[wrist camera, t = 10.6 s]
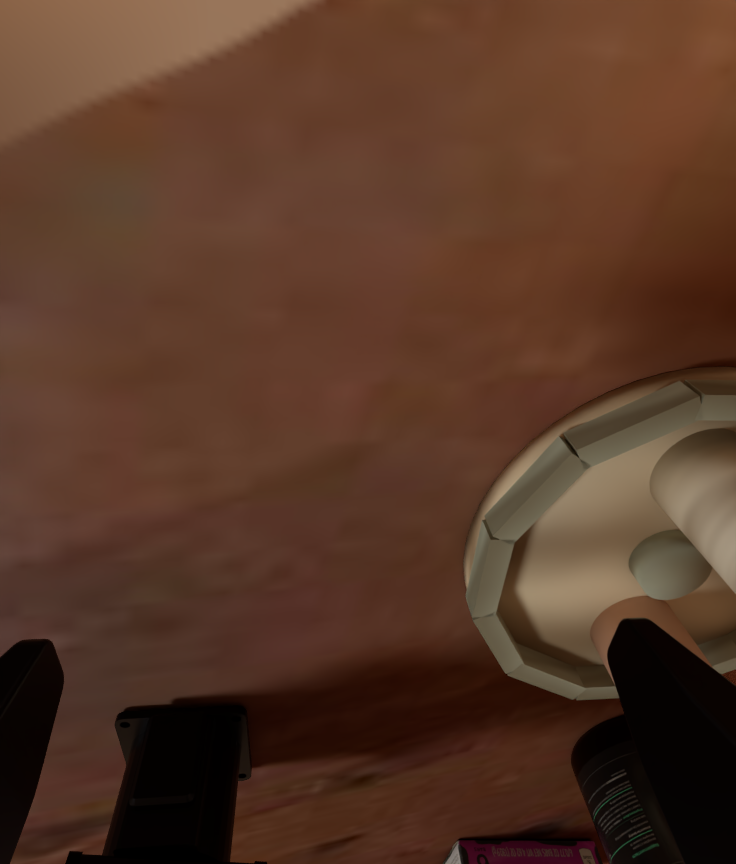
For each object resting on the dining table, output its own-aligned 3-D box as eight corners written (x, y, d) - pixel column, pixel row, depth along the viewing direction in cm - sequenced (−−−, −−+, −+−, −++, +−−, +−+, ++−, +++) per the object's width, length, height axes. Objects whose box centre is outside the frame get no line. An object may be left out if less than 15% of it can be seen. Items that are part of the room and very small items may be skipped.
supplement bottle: (697, 728, 34) (862, 994, 24) (617, 781, 37) (734, 1042, 27) (626, 699, 32) (775, 981, 22) (545, 758, 35) (644, 1035, 24)
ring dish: (745, 654, 31) (773, 691, 29) (440, 668, 29) (449, 708, 27) (927, 370, 22) (985, 396, 20) (502, 362, 20) (522, 389, 18)
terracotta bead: (655, 649, 28) (717, 748, 24) (580, 653, 28) (630, 754, 23) (683, 594, 26) (756, 691, 22) (603, 596, 26) (662, 696, 21)
